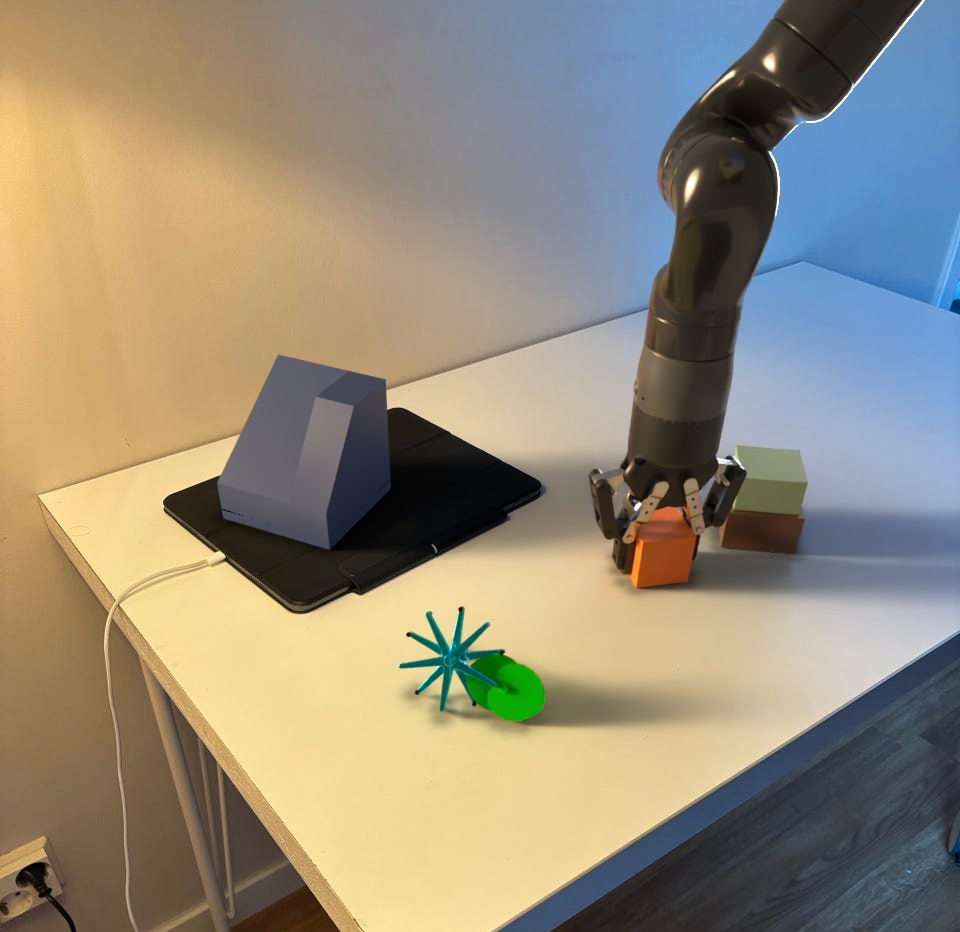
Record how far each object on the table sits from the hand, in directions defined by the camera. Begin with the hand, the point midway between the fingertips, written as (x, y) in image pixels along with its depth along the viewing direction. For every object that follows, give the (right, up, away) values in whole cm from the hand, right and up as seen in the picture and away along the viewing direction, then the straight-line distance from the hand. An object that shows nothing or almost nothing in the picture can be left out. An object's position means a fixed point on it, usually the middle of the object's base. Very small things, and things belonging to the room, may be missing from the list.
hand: (653, 565), depth 91 cm
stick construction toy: (-16, -11, -12) cm, 23 cm away
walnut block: (+11, +4, +5) cm, 13 cm away
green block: (+11, +7, +3) cm, 13 cm away
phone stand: (-33, +7, +8) cm, 34 cm away
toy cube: (0, 0, 0) cm, 0 cm away
